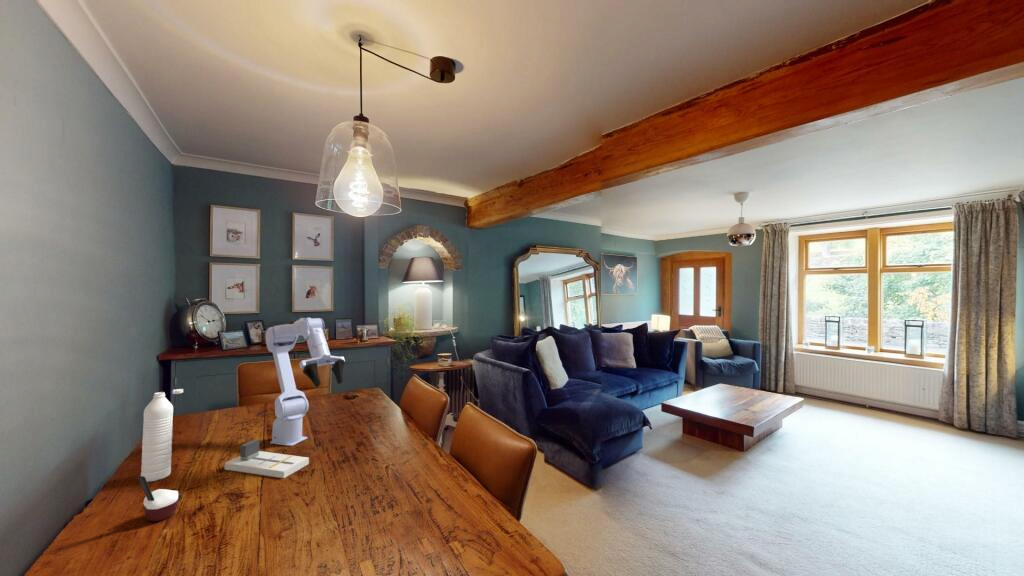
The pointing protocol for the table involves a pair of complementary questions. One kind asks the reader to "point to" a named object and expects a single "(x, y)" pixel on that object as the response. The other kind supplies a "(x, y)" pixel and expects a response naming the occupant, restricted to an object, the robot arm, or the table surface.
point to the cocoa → (159, 502)
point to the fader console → (268, 464)
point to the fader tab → (249, 450)
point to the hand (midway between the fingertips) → (329, 384)
